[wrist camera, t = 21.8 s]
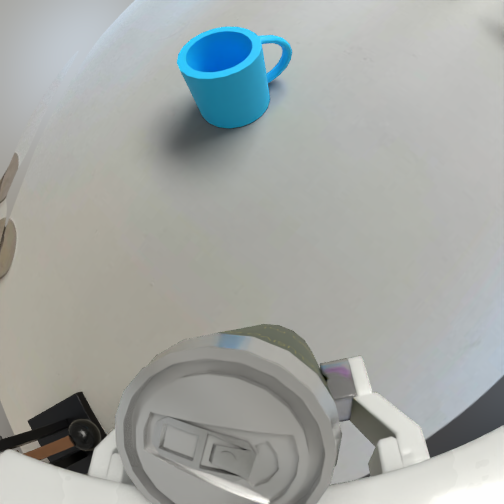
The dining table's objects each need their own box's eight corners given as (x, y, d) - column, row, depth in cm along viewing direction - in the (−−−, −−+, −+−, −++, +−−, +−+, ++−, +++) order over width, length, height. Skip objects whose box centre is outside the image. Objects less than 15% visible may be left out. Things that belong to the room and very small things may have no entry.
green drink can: (213, 398, 17) (100, 492, 5) (234, 314, 18) (126, 303, 6) (301, 420, 16) (302, 558, 4) (325, 334, 17) (381, 367, 5)
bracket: (82, 391, 28) (-3, 411, 15) (123, 460, 25) (51, 507, 13) (33, 419, 28) (-38, 436, 15) (66, 477, 26) (2, 510, 13)
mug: (218, 140, 31) (196, 92, 23) (189, 97, 33) (166, 51, 25) (312, 93, 31) (313, 40, 23) (274, 55, 33) (267, 6, 25)
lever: (92, 412, 23) (85, 414, 21) (109, 441, 23) (104, 446, 20) (-1, 451, 17) (-14, 455, 14) (15, 479, 16) (3, 484, 14)
